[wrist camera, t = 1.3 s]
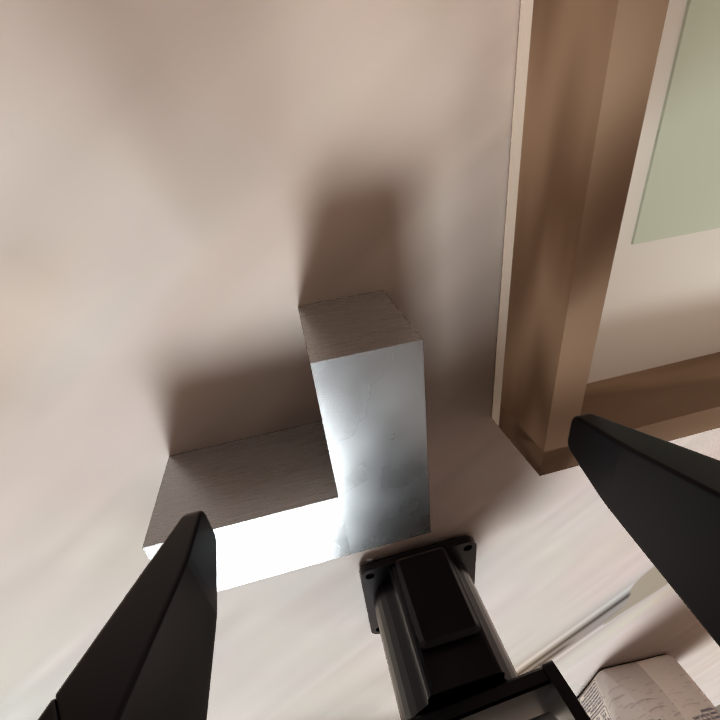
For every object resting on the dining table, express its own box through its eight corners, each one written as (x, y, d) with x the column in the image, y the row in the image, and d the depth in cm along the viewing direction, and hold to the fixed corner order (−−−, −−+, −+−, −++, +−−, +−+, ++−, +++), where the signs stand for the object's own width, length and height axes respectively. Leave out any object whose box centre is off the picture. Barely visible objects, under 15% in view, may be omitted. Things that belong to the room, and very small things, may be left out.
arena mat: (784, 346, 20) (801, 352, 19) (491, 418, 18) (499, 427, 17) (1070, -229, 11) (1118, -251, 10) (536, -218, 9) (556, -244, 8)
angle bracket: (398, 456, 18) (430, 532, 14) (195, 507, 17) (177, 602, 13) (382, 290, 14) (422, 339, 10) (112, 342, 13) (56, 417, 9)
